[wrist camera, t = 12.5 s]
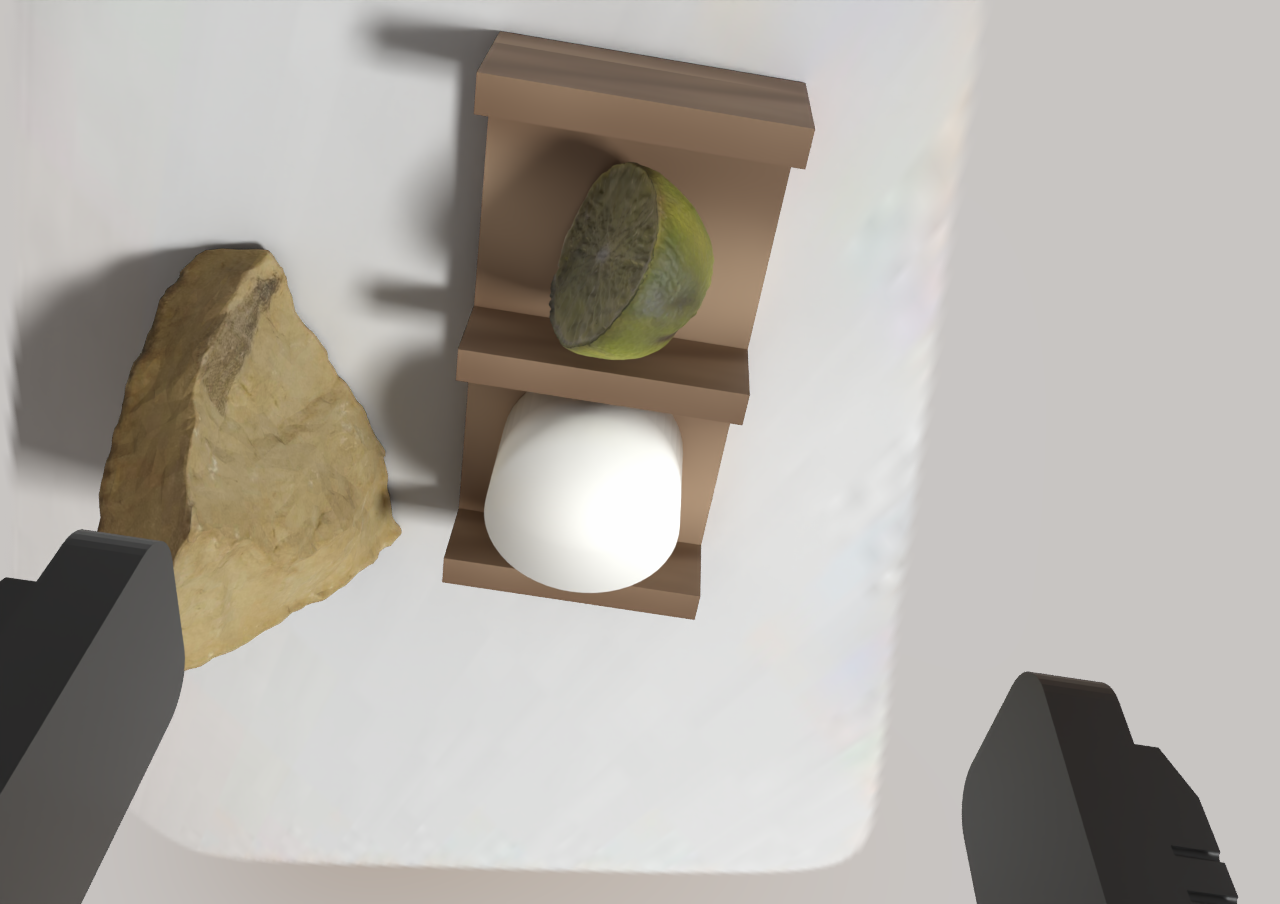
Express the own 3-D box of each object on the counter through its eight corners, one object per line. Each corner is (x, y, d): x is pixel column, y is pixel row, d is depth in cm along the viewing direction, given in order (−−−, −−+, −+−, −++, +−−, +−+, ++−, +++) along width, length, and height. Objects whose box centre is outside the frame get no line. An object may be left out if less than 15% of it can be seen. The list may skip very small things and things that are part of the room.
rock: (69, 208, 30) (21, 510, 35) (168, 377, 25) (98, 707, 29) (423, 247, 38) (348, 493, 42) (558, 385, 32) (455, 649, 37)
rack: (499, 31, 29) (476, 71, 26) (805, 83, 30) (815, 129, 27) (462, 513, 38) (442, 581, 36) (696, 548, 39) (694, 620, 36)
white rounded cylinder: (471, 402, 35) (450, 474, 32) (643, 350, 33) (636, 420, 30) (548, 534, 38) (534, 610, 35) (708, 491, 36) (707, 567, 33)
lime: (559, 307, 33) (537, 400, 29) (543, 142, 30) (515, 220, 26) (715, 303, 32) (715, 398, 28) (713, 137, 30) (713, 215, 26)
